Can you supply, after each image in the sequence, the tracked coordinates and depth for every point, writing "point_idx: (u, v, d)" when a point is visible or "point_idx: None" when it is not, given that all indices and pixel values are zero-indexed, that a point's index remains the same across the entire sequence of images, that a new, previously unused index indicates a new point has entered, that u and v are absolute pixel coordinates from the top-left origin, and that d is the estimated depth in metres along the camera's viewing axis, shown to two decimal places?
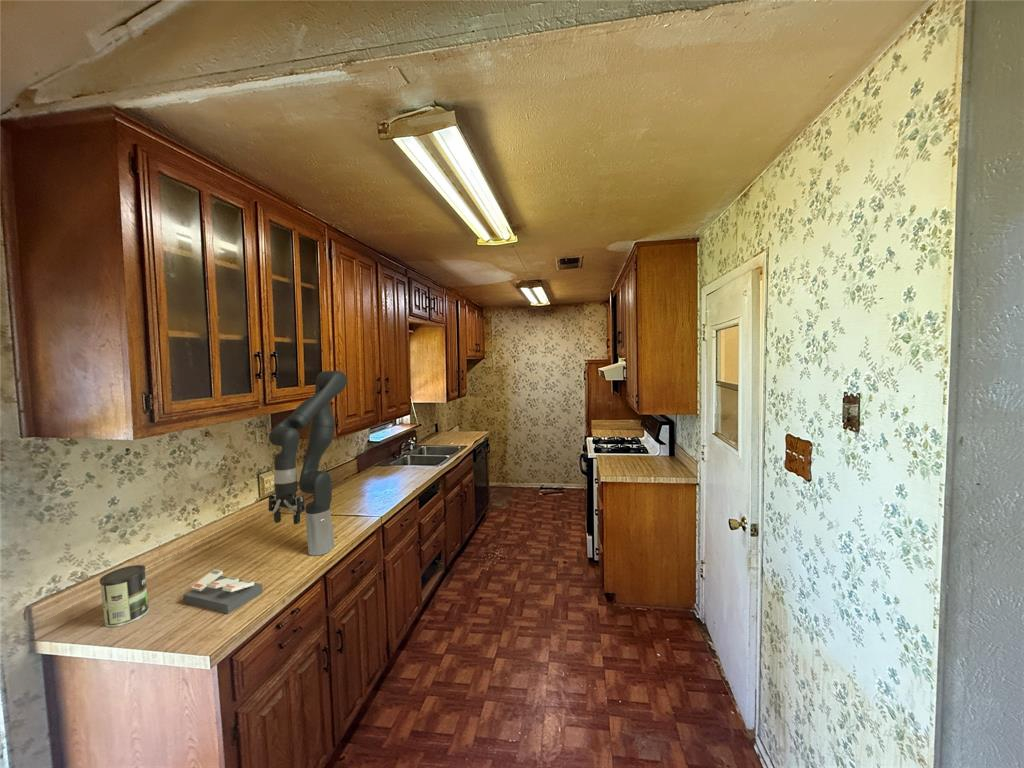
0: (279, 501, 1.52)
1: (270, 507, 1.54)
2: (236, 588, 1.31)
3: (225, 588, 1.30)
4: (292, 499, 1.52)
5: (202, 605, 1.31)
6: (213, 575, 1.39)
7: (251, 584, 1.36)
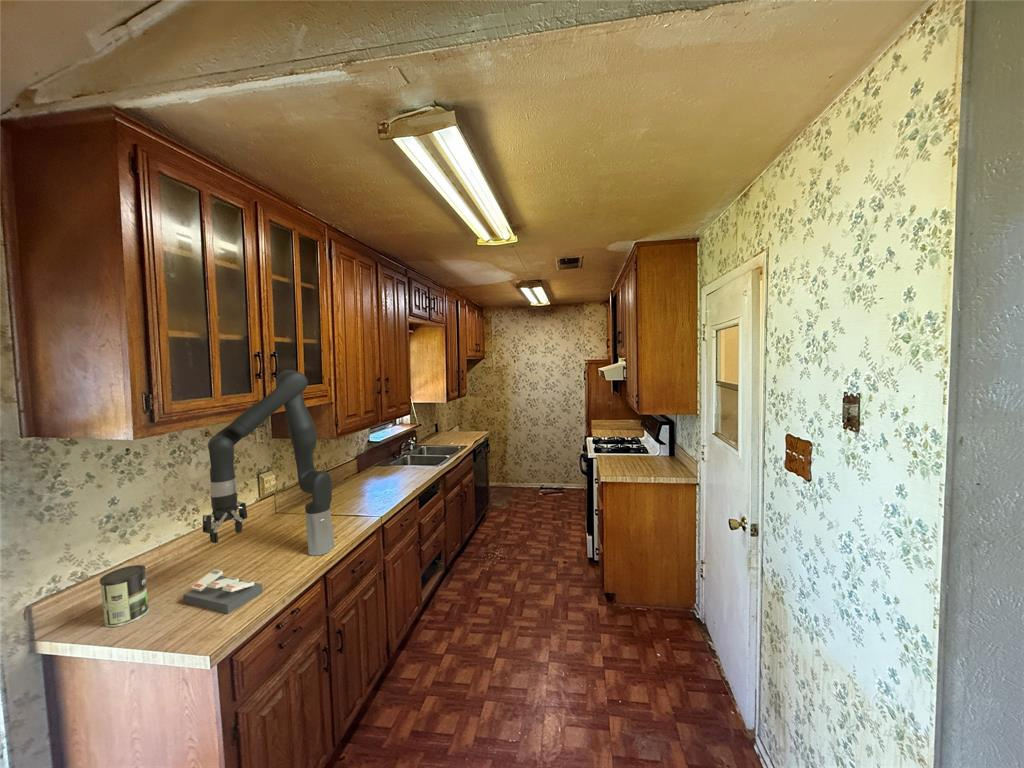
0: (225, 515, 1.42)
1: (210, 528, 1.38)
2: (236, 588, 1.31)
3: (225, 588, 1.30)
4: (237, 507, 1.47)
5: (202, 605, 1.31)
6: (213, 575, 1.39)
7: (251, 584, 1.36)
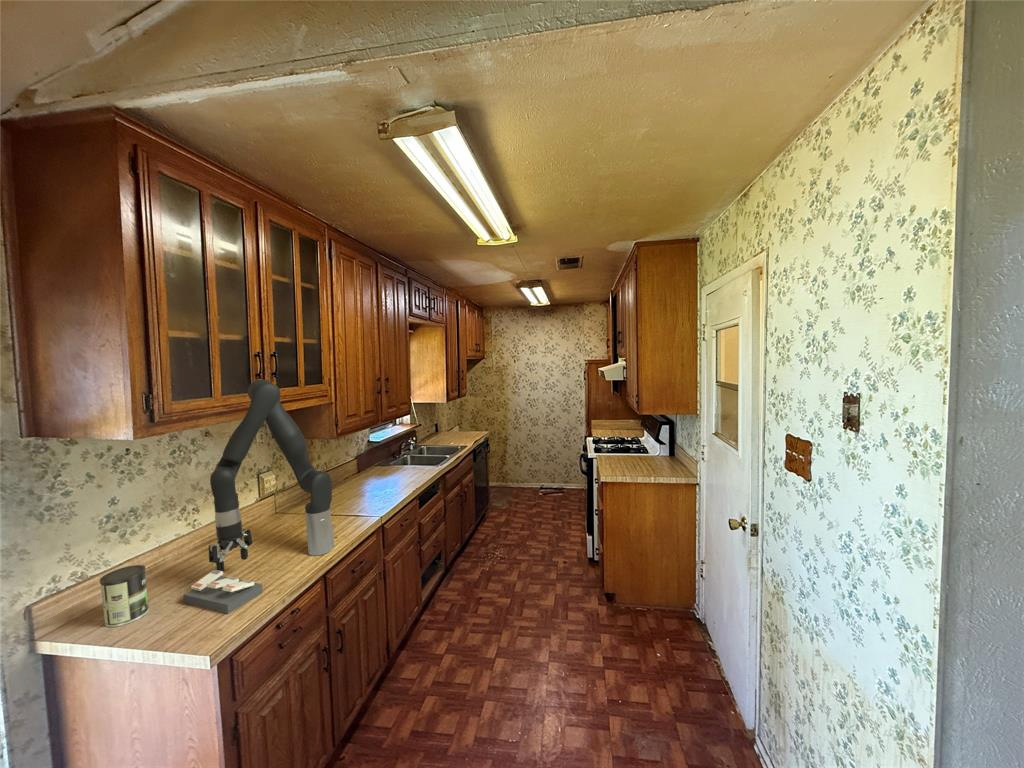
0: (231, 543, 1.44)
1: (216, 558, 1.40)
2: (236, 588, 1.31)
3: (225, 588, 1.30)
4: (242, 535, 1.49)
5: (202, 605, 1.31)
6: (213, 575, 1.40)
7: (251, 584, 1.36)
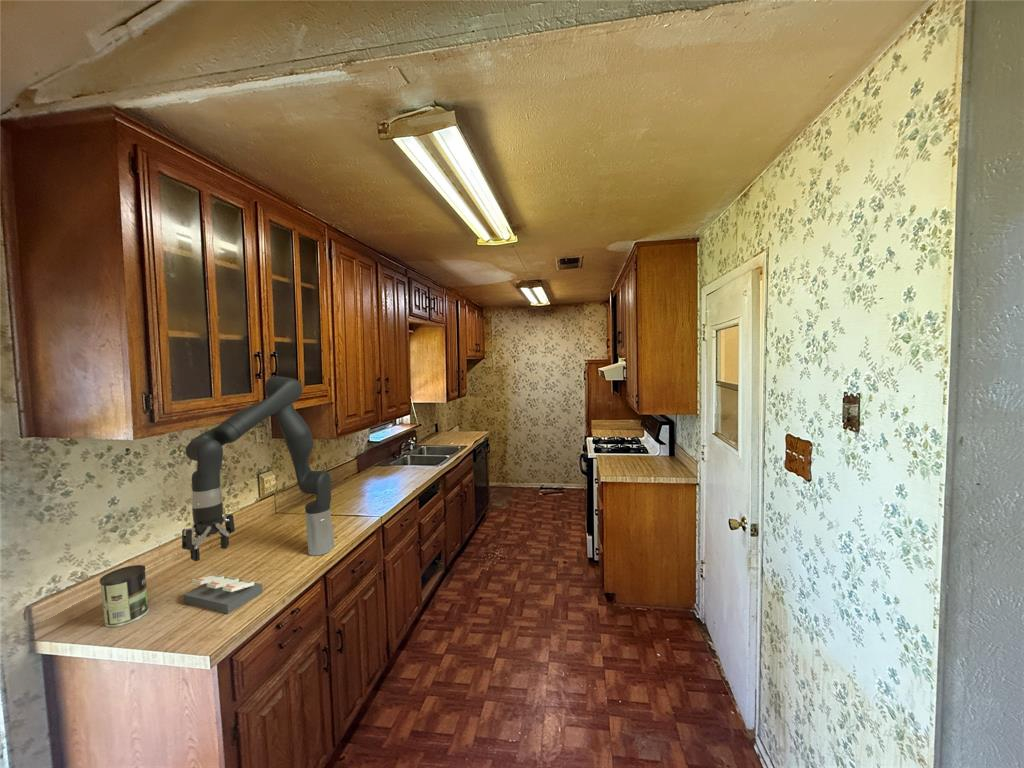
0: (209, 528, 1.25)
1: (190, 544, 1.21)
2: (236, 588, 1.31)
3: (225, 588, 1.30)
4: (223, 520, 1.30)
5: (202, 605, 1.31)
6: (215, 577, 1.40)
7: (251, 584, 1.36)
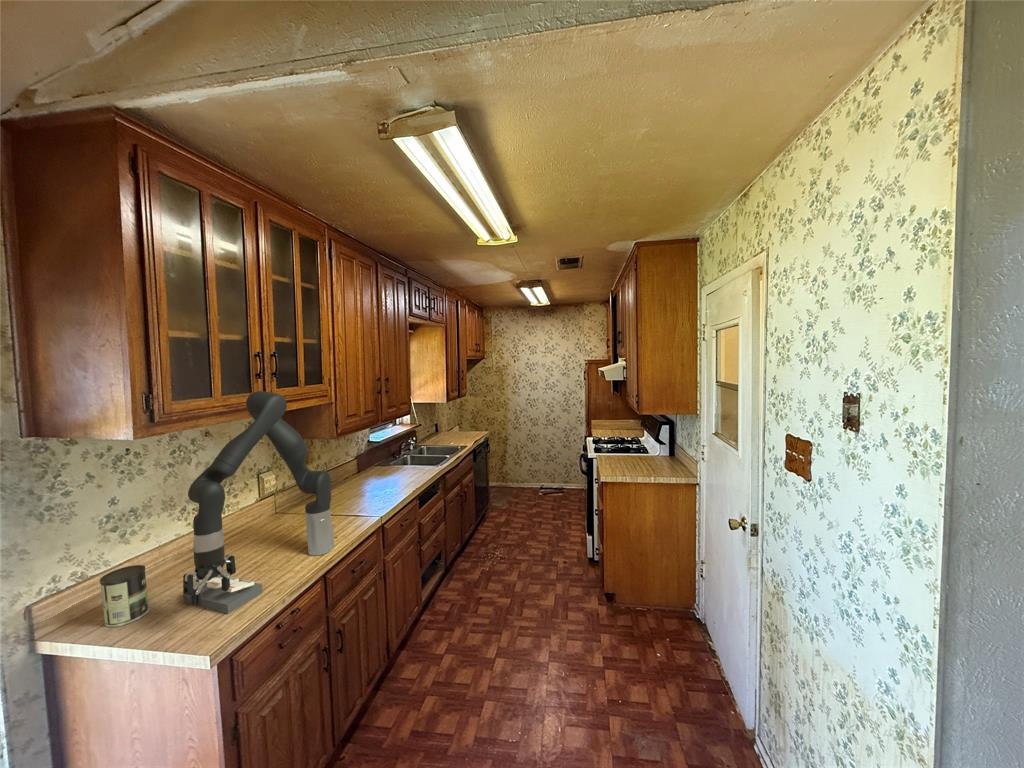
0: (210, 572, 1.23)
1: (191, 590, 1.19)
2: (236, 588, 1.31)
3: None
4: (224, 562, 1.28)
5: (202, 605, 1.31)
6: (215, 577, 1.40)
7: (251, 584, 1.36)
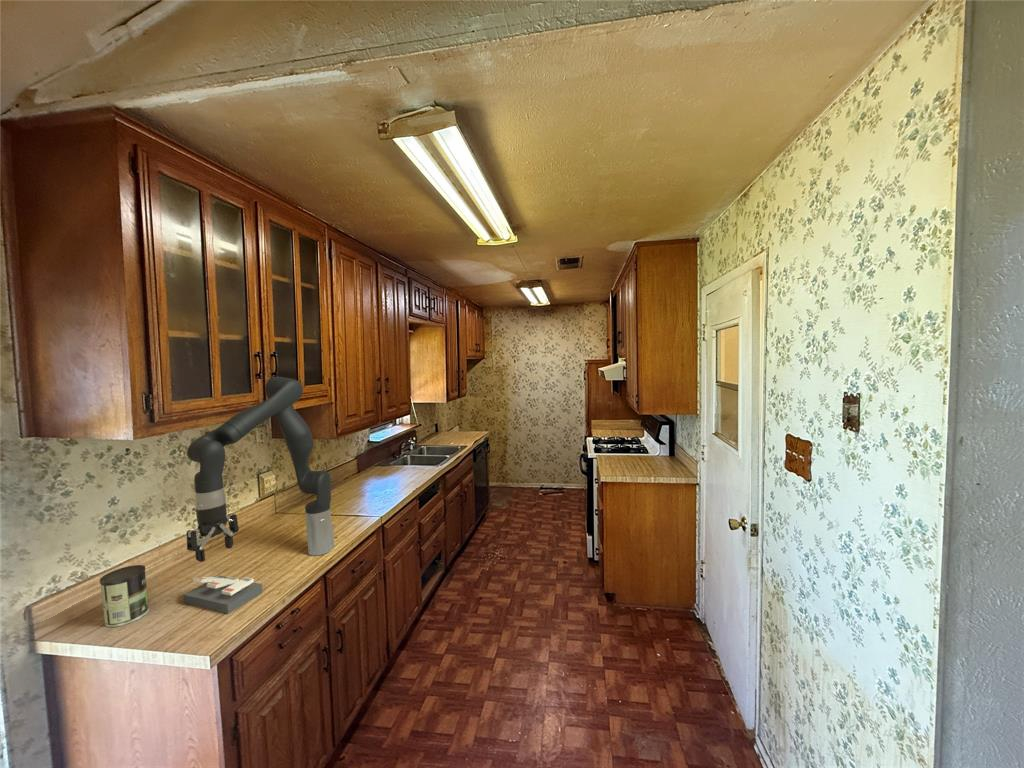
0: (213, 529, 1.25)
1: (195, 545, 1.21)
2: (235, 590, 1.31)
3: (224, 592, 1.30)
4: (226, 520, 1.30)
5: (202, 605, 1.31)
6: (215, 577, 1.40)
7: (251, 582, 1.36)
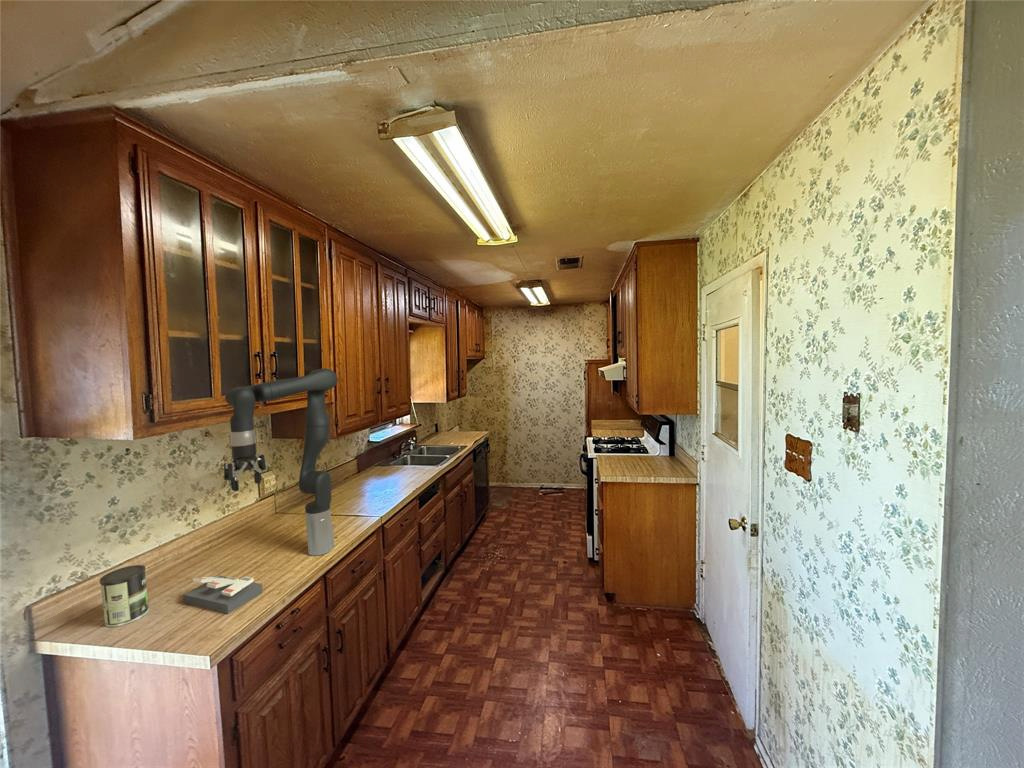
0: (245, 464, 1.46)
1: (231, 476, 1.42)
2: (235, 591, 1.31)
3: (224, 593, 1.30)
4: (256, 458, 1.51)
5: (202, 605, 1.31)
6: (215, 577, 1.40)
7: (250, 581, 1.36)
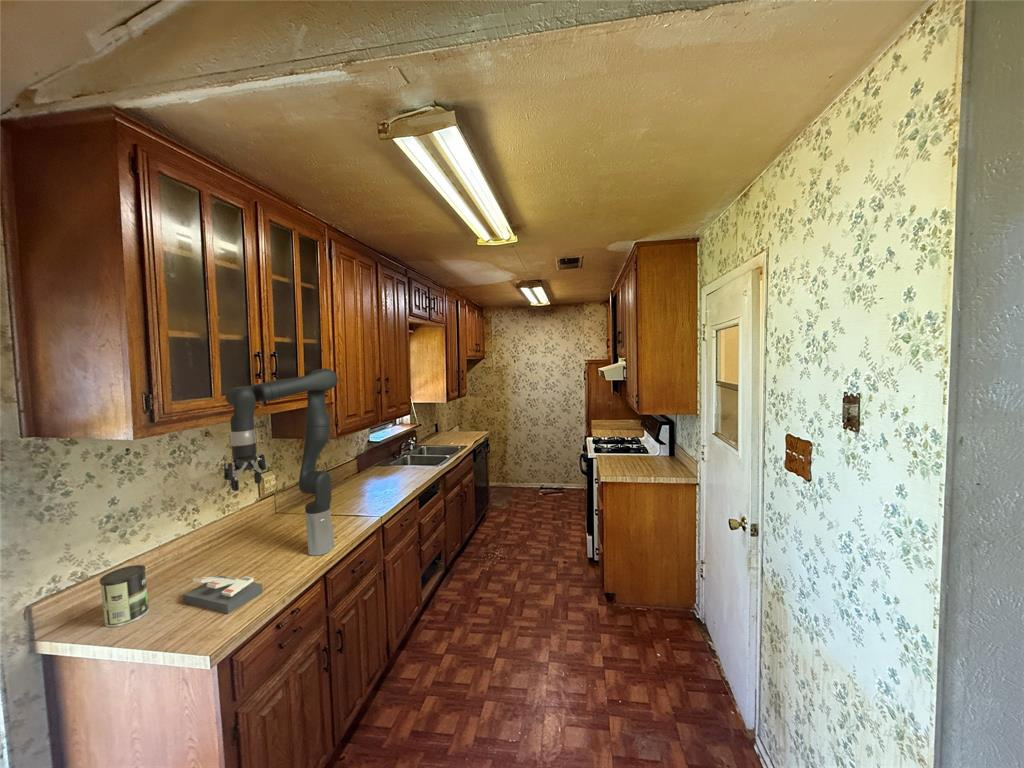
0: (245, 464, 1.46)
1: (231, 475, 1.42)
2: (235, 591, 1.31)
3: (224, 593, 1.30)
4: (256, 458, 1.51)
5: (202, 605, 1.31)
6: (215, 577, 1.40)
7: (250, 581, 1.36)
